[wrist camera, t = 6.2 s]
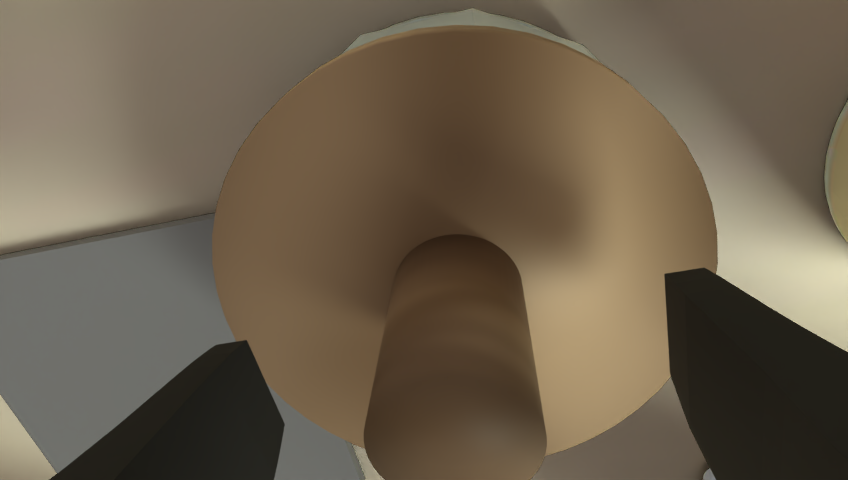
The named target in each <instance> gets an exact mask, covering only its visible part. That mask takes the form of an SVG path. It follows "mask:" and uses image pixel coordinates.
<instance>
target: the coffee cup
mask: <svg viewBox="0 0 848 480" xmlns="http://www.w3.org/2000/svg"><path fill="white" fill-rule="evenodd" d="M824 181H825V194H826V198H827V202H828V205H829V209H830V212H831V216H832V218H833V220H834V222H835V224H836V226H837V228H838V230H839V231H840V233H841V234H842V236H843V237H844V238H845V240H846V241H847V242H848V101H847V103H846V104H845V106H844V108H843V110H842V112H841V113H840V115H839V118H838V119H837V122H836V125H835V127H834V130H833V133H832V136H831V139H830V143H829V147H828V150H827V154H826V163H825V174H824Z"/></svg>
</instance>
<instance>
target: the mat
mask: <svg viewBox="0 0 848 480" xmlns="http://www.w3.org/2000/svg"><path fill="white" fill-rule="evenodd" d="M214 219H215V213H212V214H207V215H202V216H197V217H192V218H187V219H182V220H176V221H171V222H166V223H161V224H156V225H151V226H146V227H141V228H136V229H131V230H126V231H121V232H116V233H111V234H105V235H100V236H95V237H90V238H85V239H80V240H75V241H70V242H65V243H60V244H55V245H50V246H45V247H39V248H34V249H29V250H24V251H19V252H14V253H9V254H4V255H0V395H1V396H2V397H3V399H4V400H5V402H6V403H7V404H8V406H9V407H10V409H11V410H12V411H13V413H14V414H15V416H16V417H17V418H18V420H19V421H20V422H21V424H22V425H23V427H24V428H25V429H26V431H27V432H28V434H29V435H30V436H31V438H32V439H33V441H34V442H35V443H36V445H37V446H38V448H39V449H40V450H41V452H42V453H43V454H44V456H45V457H46V459H47V460H48V461H49V463H50V464H51V466H52V467H53V468H54V470H55V471H56V473H59V472H60V471H61V470H62V469H64V468H65V467H66V466H67V465H69V464H70V463H71V462H72V461H74V460H75V459H76V458H77V457H79V456H80V455H81V454H82V453H84V452H85V451H86V450H87V449H89V448H90V447H91V446H92V445H94V444H95V443H96V442H97V441H99V440H100V439H101V438H102V437H104V436H105V435H106V434H107V433H109V432H110V431H111V430H112V429H114V428H115V427H116V426H117V425H118V424H120V423H121V422H122V421H123V420H124V419H126V418H127V417H128V416H129V415H130V414H131V413H133V412H134V411H135V410H136V409H137V408H139V407H140V406H141V405H142V404H143V403H144V402H146V401H147V400H148V399H149V398H150V397H151V396H153V395H154V394H155V393H156V392H157V391H159V390H160V389H161V388H162V387H163V386H164V385H166V384H167V383H168V382H169V381H170V380H171V379H173V378H174V377H175V376H176V375H177V374H179V373H180V372H181V371H182V370H183V369H185V368H186V367H187V366H188V365H189V364H191V363H192V362H193V361H194V360H196V359H197V358H198V357H200V356H201V355H202V354H203V353H205V352H206V351H208V350H209V349H210V348H212V347H213V346H215V345H218V344H224V343H230V342H236V340H235V338H234V336H233V333H232V331H231V329H230V327H229V325H228V323H227V321H226V318H225V316H224V313H223V309H222V306H221V303H220V300H219V297H218V293H217V289H216V283H215V277H214V270H213V264H212V233H213V226H214ZM267 386H268V388H269V390H270V392H271V395H272V397H273V399H274V401H275V403H276V406H277V408H278V410H279V412H280V414H281V417H282V419H283V421H284V423H285V426H284V432H283V437H282V443H281V449H280V454H279V459H278V464H277V468H276V473H275V478H274V480H365V477H364V474H363V471H362V469H361V466H360V464H359V461H358V459H357V456H356V454H355V451H354V448H353V446H352V443H350V442H348V441H346V440H344V439H342V438H340V437H338V436H336V435H334V434H331V433H330V432H328V431H326V430H325V429H323V428H321V427H320V426H318V425H317V424H315V423H313V422H312V421H310V420H308V419H307V418H306V417H304V416H303V415H302V414H300V413H299V412H298V411H297V410H295V409H294V408H293V407H291V406H290V405H289V404H287V403H286V402H285V401H284V400H283V399H282V398H281V397H280V396H279V395H278V394H277V393H276V392H275V391H274V390H273V389H272V388H271V387H270V386H269V385H268V384H267Z"/></svg>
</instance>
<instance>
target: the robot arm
mask: <svg viewBox="0 0 848 480" xmlns="http://www.w3.org/2000/svg"><path fill="white" fill-rule="evenodd" d="M664 278H665V296H666V313H667V331H668V348H669V366H670V375H671V378H672V380H673V383H674V386H675V389H676V392H677V394H678V397H679V400H680V403H681V406H682V408H683V411H684V414H685V416H686V419H687V422H688V424H689V427H690V429H691V431H692V433H693V435H694V437H695V439H696V441H697V443H698V445H699V447H700V449H701V451H702V453H703V455H704V457H705V459H706V461H707V463H708V465H709V467H710V468H709V469H708V470H707V471H706V472H705V473H704V476H703V480H848V352H846V351H844V350H843V349H841V348H839V347H837V346H835V345H833V344H832V343H830V342H828V341H826V340H824V339H823V338H821V337H819V336H817V335H815V334H814V333H812V332H810V331H808V330H807V329H805V328H803V327H801V326H800V325H798V324H796V323H795V322H793V321H791V320H790V319H788V318H786V317H784V316H783V315H781V314H779V313H778V312H776V311H774V310H773V309H771V308H769V307H768V306H766V305H765V304H763V303H761V302H760V301H758V300H757V299H755V298H753V297H752V296H750V295H748V294H747V293H745V292H744V291H742V290H740V289H739V288H737V287H736V286H734V285H732V284H731V283H729V282H728V281H726V280H725V279H723V278H721V277H720V276H718V275H716V274H715V273H713V272H711V271H710V270H708V269H706V268H705V267H704V268H698V269H691V270H685V271H679V272H672V273H666V274H664ZM284 426H285V423H284V421H283V419H282V417H281V414H280V412H279V410H278V408H277V406H276V403H275V401H274V399H273V397H272V395H271V392H270V390H269V388H268V386H267V383H266V381H265V379H264V377H263V375H262V372H261V370H260V368H259V366H258V364H257V361H256V359H255V357H254V355H253V352H252V350H251V348H250V346H249V344H248V341H247V340H243V341H237V342H230V343H224V344H218V345H215V346H213V347H212V348H210V349H209V350H208V351H206V352H205V353H203V354H202V355H201V356H200V357H198V358H197V359H196V360H194V361H193V362H192V363H191V364H189V365H188V366H187V367H186V368H185V369H183V370H182V371H181V372H180V373H179V374H177V375H176V376H175V377H174V378H173V379H171V380H170V381H169V382H168V383H167V384H166V385H164V386H163V387H162V388H161V389H160V390H159V391H157V392H156V393H155V394H154V395H153V396H151V397H150V398H149V399H148V400H147V401H146V402H144V403H143V404H142V405H141V406H140V407H139V408H137V409H136V410H135V411H134V412H133V413H131V414H130V415H129V416H128V417H127V418H126V419H124V420H123V421H122V422H121V423H120V424H118V425H117V426H116V427H115V428H114V429H112V430H111V431H110V432H109V433H107V434H106V435H105V436H104V437H102V438H101V439H100V440H99V441H97V442H96V443H95V444H94V445H92V446H91V447H90V448H89V449H87V450H86V451H85V452H84V453H82V454H81V455H80V456H79V457H77V458H76V459H75V460H74V461H72V462H71V463H70V464H69V465H67V466H66V467H65V468H64V469H62V470H61V471H60V472H59V473H57V474H56V475H55V476H53V477H52V478H51V479H49V480H274V478H275V473H276V468H277V464H278V459H279V454H280V449H281V443H282V437H283V432H284Z"/></svg>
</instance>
